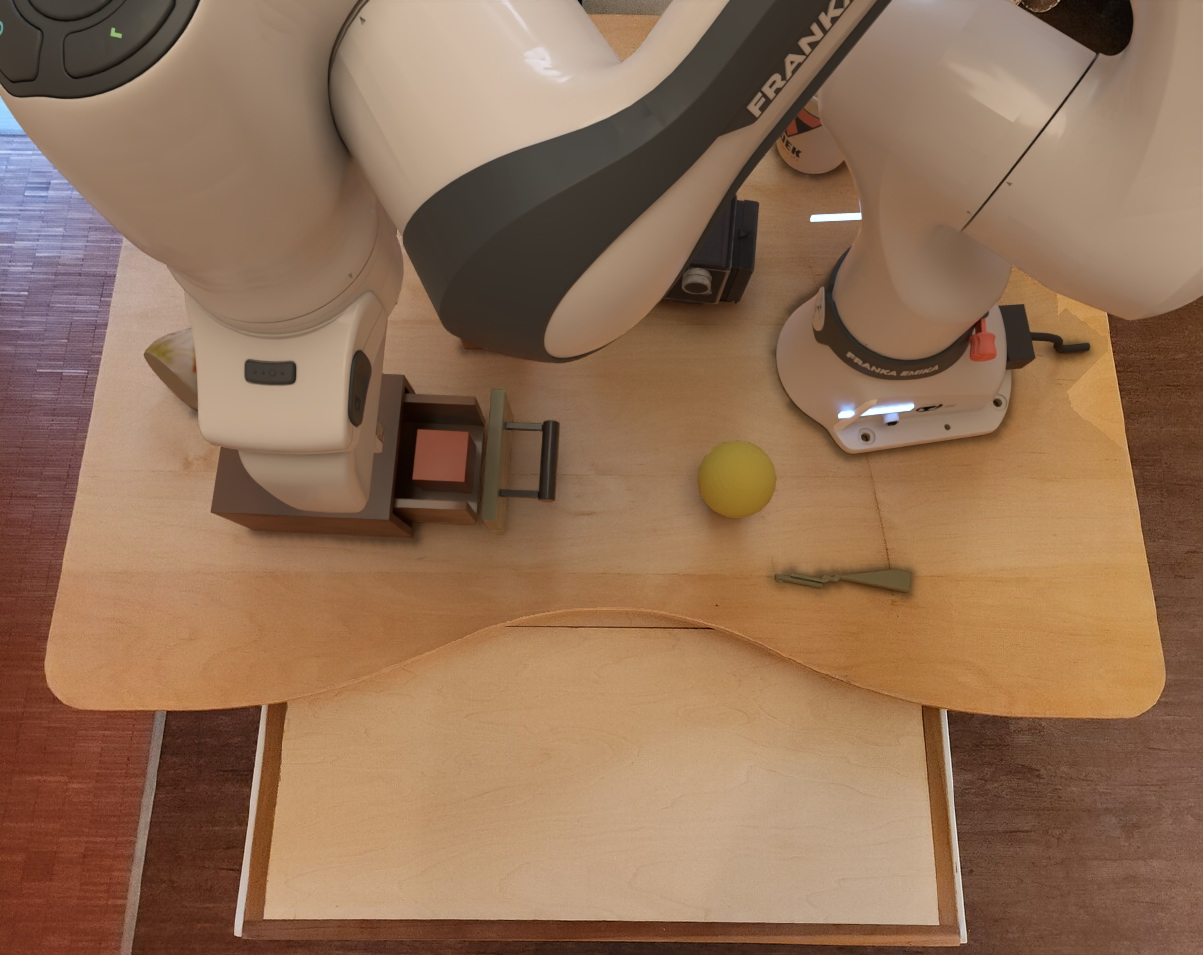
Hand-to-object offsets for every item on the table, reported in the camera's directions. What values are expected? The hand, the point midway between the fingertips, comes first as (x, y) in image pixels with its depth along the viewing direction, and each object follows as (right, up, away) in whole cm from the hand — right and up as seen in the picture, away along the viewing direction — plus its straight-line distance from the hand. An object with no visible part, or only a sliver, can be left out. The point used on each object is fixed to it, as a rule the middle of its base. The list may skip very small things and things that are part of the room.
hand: (378, 366), depth 50 cm
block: (0, -6, +25) cm, 26 cm away
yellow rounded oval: (+25, -9, +27) cm, 38 cm away
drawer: (+1, -6, +26) cm, 27 cm away
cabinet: (-11, -6, +27) cm, 30 cm away
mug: (-23, +4, +30) cm, 38 cm away
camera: (+20, +13, +32) cm, 40 cm away
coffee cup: (+36, +28, +36) cm, 58 cm away
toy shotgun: (+36, -16, +25) cm, 46 cm away
